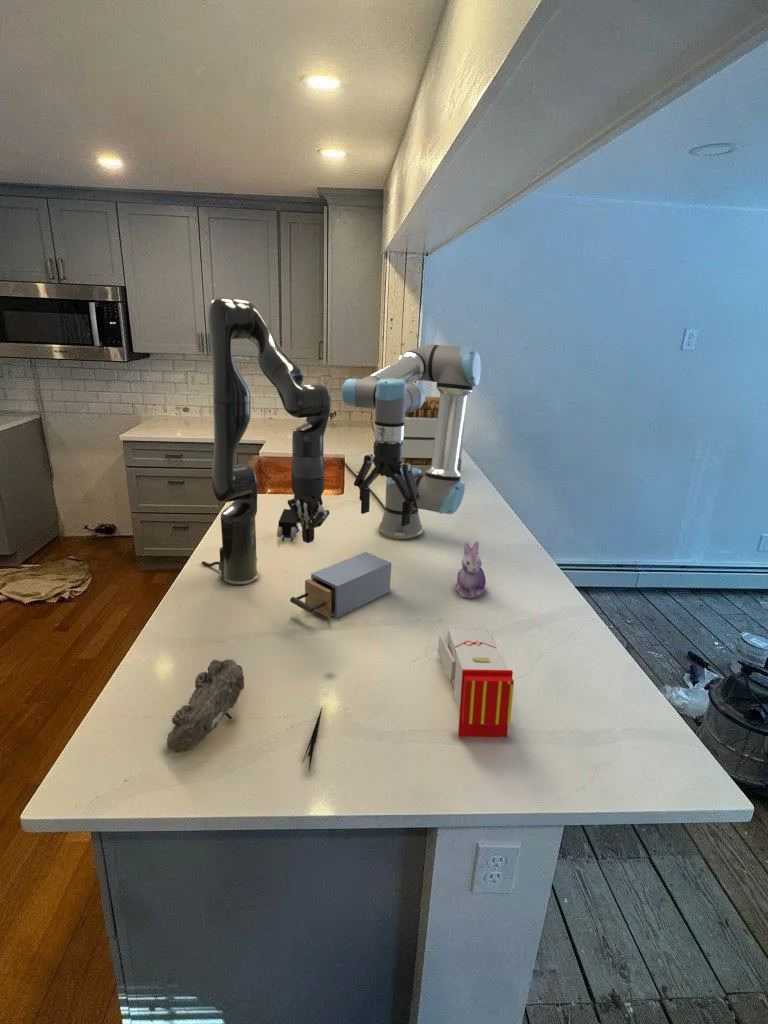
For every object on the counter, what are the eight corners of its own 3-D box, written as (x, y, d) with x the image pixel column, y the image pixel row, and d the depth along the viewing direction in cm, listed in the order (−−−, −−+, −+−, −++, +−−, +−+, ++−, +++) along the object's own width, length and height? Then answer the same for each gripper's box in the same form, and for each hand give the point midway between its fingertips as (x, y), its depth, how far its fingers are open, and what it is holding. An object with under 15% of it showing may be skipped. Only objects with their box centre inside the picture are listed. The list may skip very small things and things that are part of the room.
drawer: (311, 625, 139) (311, 599, 136) (288, 612, 144) (288, 587, 142) (379, 592, 156) (380, 568, 154) (357, 581, 162) (357, 559, 159)
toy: (488, 613, 130) (523, 677, 101) (484, 667, 133) (517, 744, 104) (435, 612, 130) (455, 676, 101) (432, 666, 133) (451, 743, 103)
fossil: (192, 660, 117) (244, 628, 112) (224, 691, 120) (276, 661, 115) (142, 746, 98) (202, 712, 93) (182, 779, 101) (242, 748, 96)
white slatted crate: (382, 463, 289) (386, 382, 275) (445, 464, 293) (451, 384, 279) (390, 482, 257) (394, 392, 243) (460, 483, 261) (468, 394, 247)
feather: (331, 679, 122) (336, 673, 122) (307, 777, 96) (313, 769, 95) (324, 675, 122) (329, 669, 121) (298, 772, 95) (304, 764, 95)
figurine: (467, 602, 155) (472, 552, 149) (446, 586, 163) (450, 538, 158) (494, 596, 159) (500, 546, 154) (473, 580, 167) (478, 533, 162)
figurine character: (296, 548, 187) (302, 526, 201) (296, 527, 184) (301, 507, 198) (276, 547, 187) (283, 526, 201) (275, 527, 184) (282, 507, 197)
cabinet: (336, 617, 144) (337, 586, 141) (311, 603, 151) (311, 573, 147) (390, 591, 159) (391, 562, 156) (364, 579, 165) (365, 551, 162)
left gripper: (277, 469, 132) (278, 537, 138) (314, 481, 124) (314, 554, 130) (301, 463, 138) (302, 530, 143) (339, 475, 129) (338, 545, 135)
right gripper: (342, 435, 149) (340, 510, 157) (421, 451, 136) (415, 534, 143) (360, 431, 155) (357, 504, 162) (437, 446, 141) (431, 526, 148)
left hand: (308, 541), depth 137 cm, fingers closed
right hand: (384, 518), depth 152 cm, fingers open, 13 cm apart
